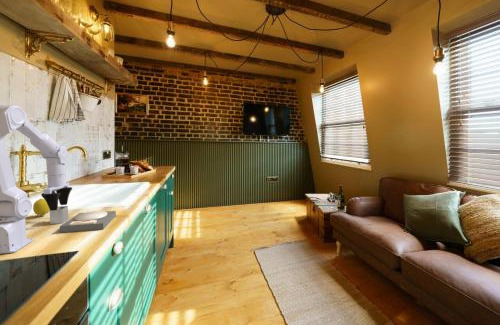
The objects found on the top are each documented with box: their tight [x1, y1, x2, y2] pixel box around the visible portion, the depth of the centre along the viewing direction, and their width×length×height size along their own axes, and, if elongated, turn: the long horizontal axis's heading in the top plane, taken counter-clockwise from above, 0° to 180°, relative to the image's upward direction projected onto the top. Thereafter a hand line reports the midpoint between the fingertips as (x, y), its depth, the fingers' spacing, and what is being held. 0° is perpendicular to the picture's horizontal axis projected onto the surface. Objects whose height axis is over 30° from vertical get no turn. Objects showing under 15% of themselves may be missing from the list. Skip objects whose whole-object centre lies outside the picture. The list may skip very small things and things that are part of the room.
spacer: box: [48, 205, 70, 225], centre depth 94 cm, size 4×4×6 cm
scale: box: [59, 210, 117, 234], centre depth 93 cm, size 16×14×3 cm
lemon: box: [32, 197, 50, 217], centre depth 101 cm, size 6×6×8 cm
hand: (58, 207), depth 94 cm, fingers open, 7 cm apart
